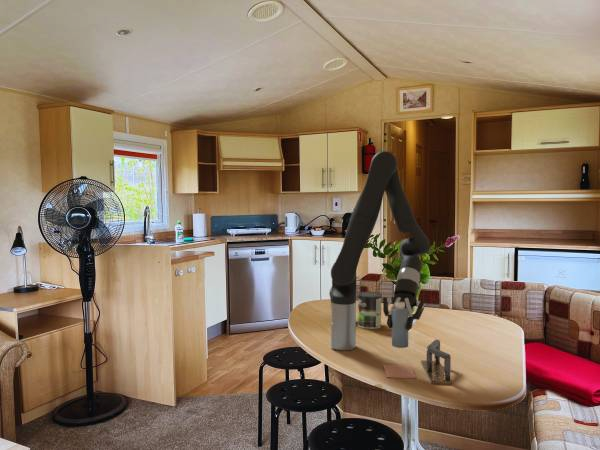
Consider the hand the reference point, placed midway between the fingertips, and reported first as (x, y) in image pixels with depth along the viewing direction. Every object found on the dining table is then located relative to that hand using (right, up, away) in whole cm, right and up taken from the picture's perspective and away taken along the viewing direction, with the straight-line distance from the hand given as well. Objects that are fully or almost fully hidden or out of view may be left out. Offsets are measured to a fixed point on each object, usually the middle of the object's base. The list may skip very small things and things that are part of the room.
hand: (398, 328), depth 149 cm
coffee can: (-1, -11, +54) cm, 56 cm away
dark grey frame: (+12, -15, +1) cm, 19 cm away
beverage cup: (-14, -10, +67) cm, 70 cm away
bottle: (+1, -6, +2) cm, 6 cm away
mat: (+1, -15, +3) cm, 15 cm away
